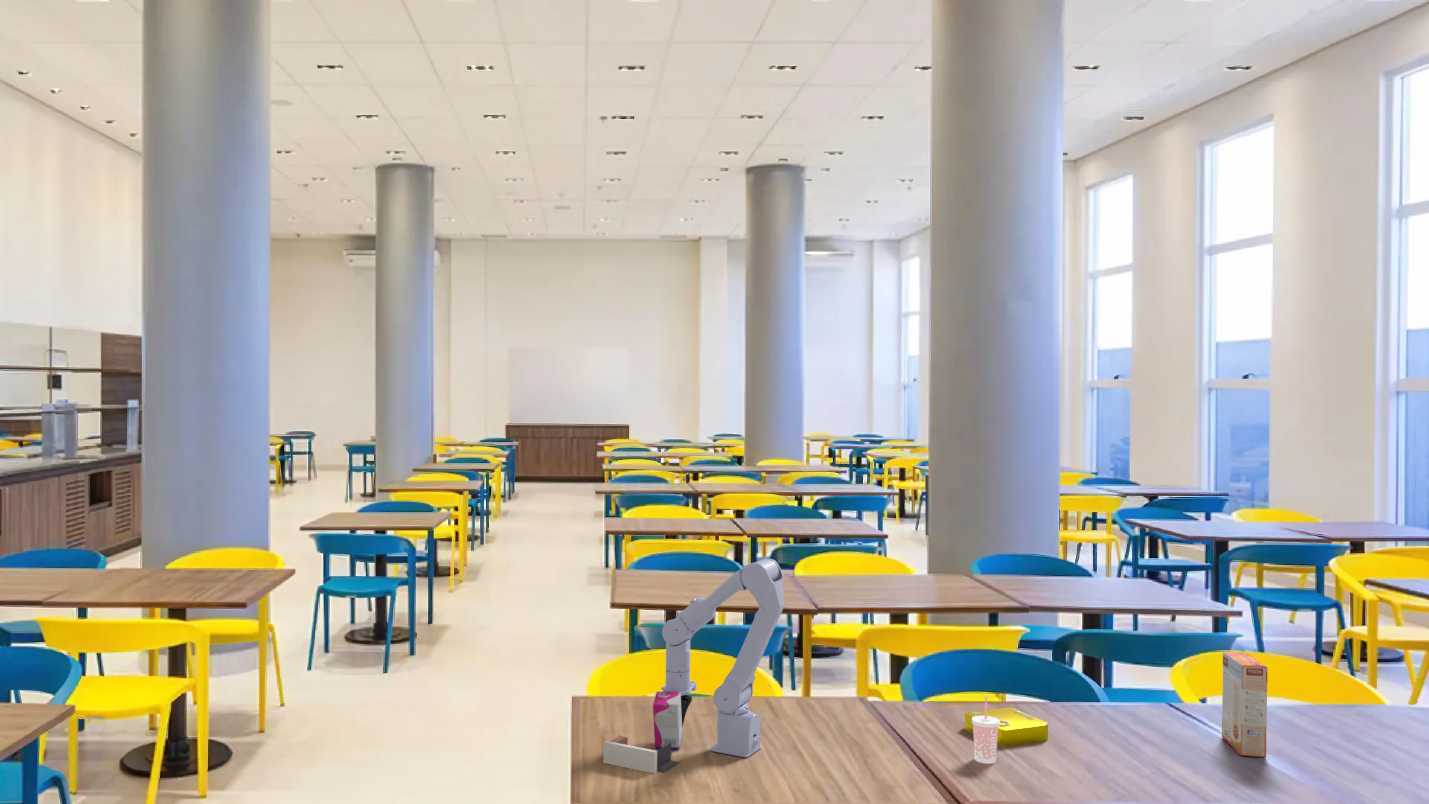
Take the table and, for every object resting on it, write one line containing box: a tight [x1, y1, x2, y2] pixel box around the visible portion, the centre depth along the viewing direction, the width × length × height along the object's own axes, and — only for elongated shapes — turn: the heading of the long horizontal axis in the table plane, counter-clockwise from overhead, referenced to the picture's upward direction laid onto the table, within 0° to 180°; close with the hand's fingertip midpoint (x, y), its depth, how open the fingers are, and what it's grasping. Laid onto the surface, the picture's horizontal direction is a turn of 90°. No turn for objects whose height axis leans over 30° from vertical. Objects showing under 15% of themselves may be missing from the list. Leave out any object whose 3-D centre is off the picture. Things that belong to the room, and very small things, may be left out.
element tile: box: [963, 706, 1049, 747], centre depth 240 cm, size 15×15×5 cm
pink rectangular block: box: [609, 735, 629, 745], centre depth 221 cm, size 2×6×4 cm, turn 152°
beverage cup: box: [972, 696, 1000, 765], centre depth 222 cm, size 6×6×14 cm
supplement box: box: [652, 691, 683, 751], centre depth 227 cm, size 6×6×12 cm
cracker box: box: [1221, 651, 1269, 759], centre depth 232 cm, size 14×6×21 cm, turn 168°
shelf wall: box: [603, 740, 658, 774], centre depth 214 cm, size 13×1×4 cm, turn 62°
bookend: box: [656, 743, 680, 773], centre depth 215 cm, size 2×6×4 cm, turn 152°
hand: (677, 728), depth 232 cm, fingers closed
